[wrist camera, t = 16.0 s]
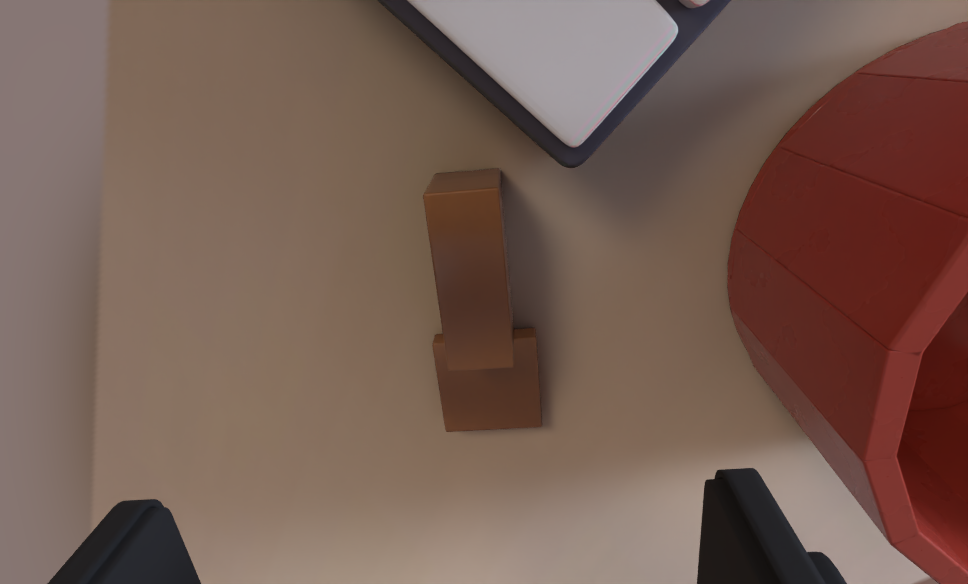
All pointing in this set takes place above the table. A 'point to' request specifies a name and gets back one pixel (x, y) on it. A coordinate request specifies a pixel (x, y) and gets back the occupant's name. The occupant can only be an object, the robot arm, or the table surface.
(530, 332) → the stepped wooden block pair
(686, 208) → the table surface
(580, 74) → the calculator
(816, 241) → the pot
